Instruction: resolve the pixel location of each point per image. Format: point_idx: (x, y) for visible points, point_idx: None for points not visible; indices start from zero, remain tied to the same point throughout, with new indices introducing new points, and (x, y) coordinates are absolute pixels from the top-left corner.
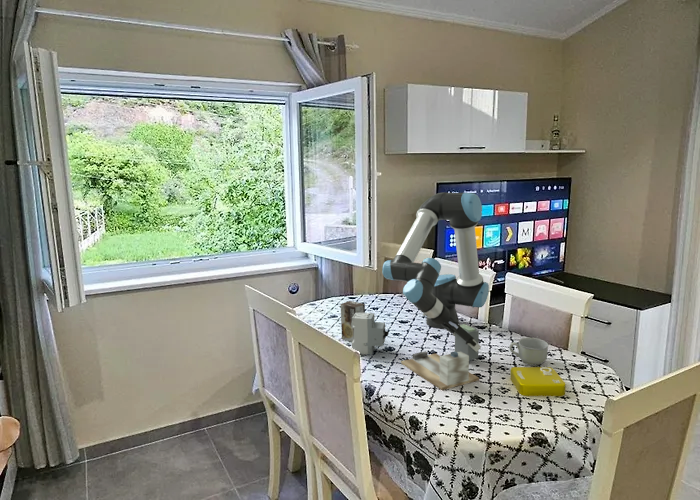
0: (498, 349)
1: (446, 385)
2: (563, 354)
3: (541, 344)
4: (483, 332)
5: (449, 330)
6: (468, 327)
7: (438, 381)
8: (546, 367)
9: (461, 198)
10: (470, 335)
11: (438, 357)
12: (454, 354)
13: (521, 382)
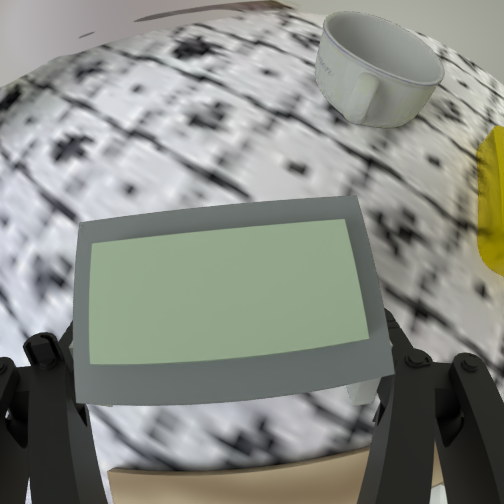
0: (192, 124)
1: None
2: (322, 25)
3: (357, 28)
4: (35, 106)
5: (101, 481)
6: (242, 271)
7: None
8: (501, 135)
9: None
10: (500, 397)
11: (170, 496)
12: None
13: None
